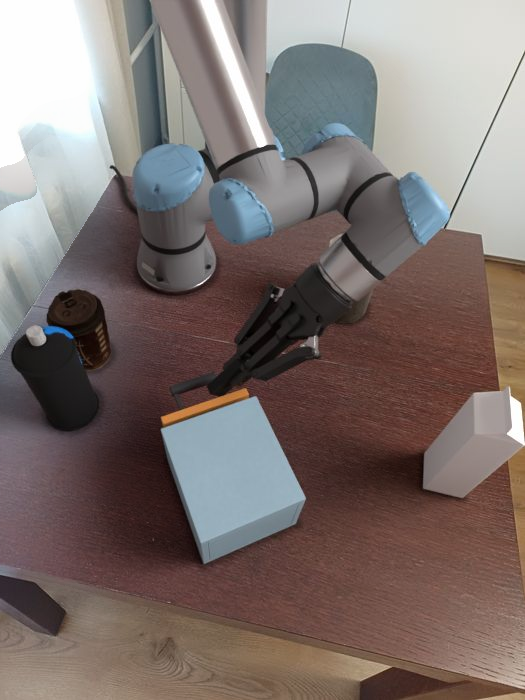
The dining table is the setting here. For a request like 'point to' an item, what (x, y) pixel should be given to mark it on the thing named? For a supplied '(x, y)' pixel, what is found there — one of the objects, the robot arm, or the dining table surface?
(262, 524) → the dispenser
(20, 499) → the dining table surface
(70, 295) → the coffee cup
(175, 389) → the orange drawer
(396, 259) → the robot arm
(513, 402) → the milk
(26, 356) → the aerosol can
